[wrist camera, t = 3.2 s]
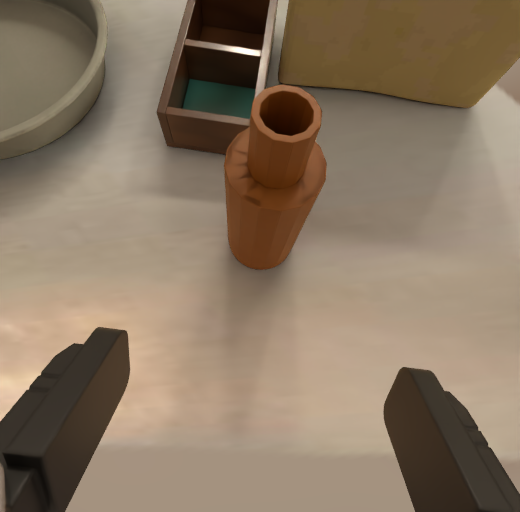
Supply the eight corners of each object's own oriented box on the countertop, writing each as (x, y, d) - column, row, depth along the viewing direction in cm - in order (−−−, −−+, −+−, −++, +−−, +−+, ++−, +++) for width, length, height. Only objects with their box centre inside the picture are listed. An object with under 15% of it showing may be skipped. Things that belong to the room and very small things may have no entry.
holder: (273, 36, 38) (278, -6, 33) (255, 159, 32) (258, 127, 28) (197, 24, 37) (193, -21, 33) (166, 145, 32) (156, 112, 28)
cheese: (474, 73, 38) (615, -97, 24) (469, 139, 35) (629, -12, 21) (294, 25, 39) (328, -172, 24) (274, 85, 35) (300, -99, 21)
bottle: (294, 215, 31) (351, 73, 16) (288, 273, 29) (347, 177, 14) (233, 207, 31) (232, 54, 15) (224, 265, 29) (212, 157, 14)
